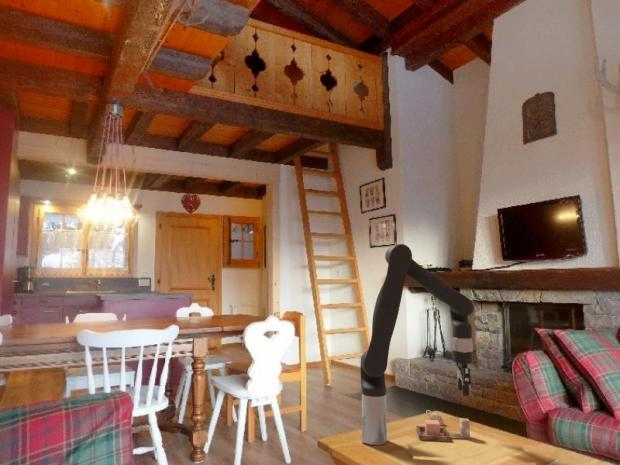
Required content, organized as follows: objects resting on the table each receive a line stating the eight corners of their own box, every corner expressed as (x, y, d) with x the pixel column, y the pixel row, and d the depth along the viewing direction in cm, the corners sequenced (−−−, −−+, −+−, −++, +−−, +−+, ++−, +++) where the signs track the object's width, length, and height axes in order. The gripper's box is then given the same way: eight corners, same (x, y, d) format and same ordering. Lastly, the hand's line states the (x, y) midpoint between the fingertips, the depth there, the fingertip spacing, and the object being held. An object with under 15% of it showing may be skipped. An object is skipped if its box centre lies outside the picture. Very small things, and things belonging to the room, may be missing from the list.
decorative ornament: (438, 429, 177) (438, 415, 177) (424, 423, 184) (424, 410, 185) (446, 428, 178) (445, 414, 179) (432, 422, 186) (432, 409, 186)
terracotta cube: (426, 437, 164) (426, 423, 165) (425, 432, 169) (424, 419, 169) (440, 438, 163) (439, 424, 164) (438, 433, 168) (437, 420, 169)
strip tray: (419, 442, 161) (418, 422, 162) (416, 432, 172) (416, 413, 173) (472, 445, 159) (471, 424, 159) (466, 434, 170) (465, 415, 170)
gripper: (449, 346, 176) (450, 387, 174) (456, 352, 162) (456, 397, 160) (468, 347, 174) (469, 388, 173) (477, 352, 160) (478, 398, 159)
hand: (463, 392), depth 166 cm, fingers open, 8 cm apart
